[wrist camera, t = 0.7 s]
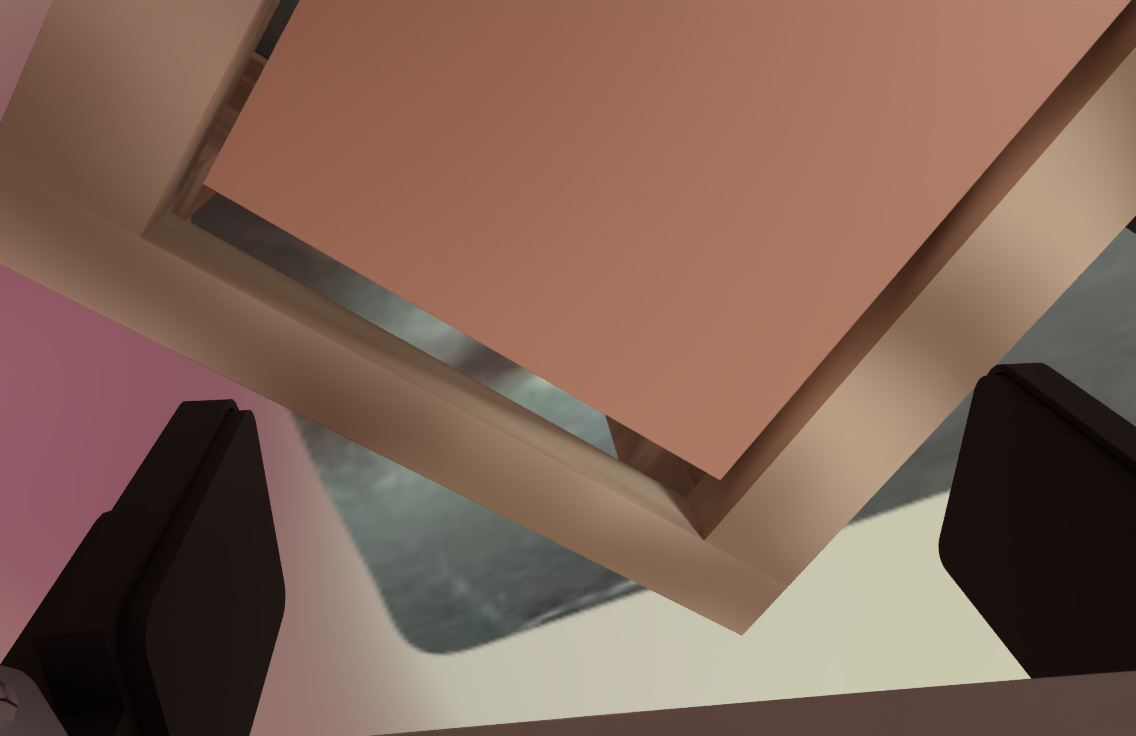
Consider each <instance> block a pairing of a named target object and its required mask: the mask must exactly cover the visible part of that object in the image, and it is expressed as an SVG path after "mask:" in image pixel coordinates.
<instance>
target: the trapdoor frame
mask: <svg viewBox="0 0 1136 736" xmlns="http://www.w3.org/2000/svg"><path fill="white" fill-rule="evenodd" d="M280 1H281V0H53V2H52V4H51V7H50V9H49V11H48V14H47V16H46V18H45V21H44V23H43V26H42V28H41V30H40V32H39V35H38V37H37V40H36V42H35V44H34V46H33V49H32V51H31V53H30V55H29V58H28V60H27V63H26V65H25V67H24V70H23V72H22V74H21V76H20V79H19V81H18V83H17V86H16V88H15V90H14V93H13V95H12V97H11V100H10V102H9V104H8V107H7V109H6V111H5V114H4V116H3V118H2V121H1V123H0V264H1V265H2V266H4V267H6V268H8V269H10V270H12V271H14V272H16V273H18V274H20V275H23V276H24V277H26V278H28V279H30V280H32V281H34V282H36V283H38V284H40V285H43V286H44V287H46V288H48V289H50V290H52V291H54V292H56V293H58V294H60V295H62V296H64V297H66V298H68V299H70V300H72V301H75V302H76V303H78V304H80V305H82V306H84V307H86V308H88V309H90V310H92V311H94V312H96V313H98V314H100V315H102V316H104V317H106V318H108V319H110V320H112V321H114V322H116V323H118V324H120V325H122V326H124V327H126V328H128V329H130V330H132V331H134V332H136V333H138V334H140V335H142V336H144V337H146V338H148V339H150V340H152V341H154V342H156V343H159V344H160V345H162V346H164V347H166V348H168V349H170V350H172V351H174V352H176V353H178V354H180V355H182V356H184V357H186V358H188V359H190V360H192V361H194V362H196V363H198V364H200V365H202V366H204V367H206V368H208V369H210V370H212V371H214V372H216V373H218V374H220V375H222V376H224V377H226V378H228V379H230V380H232V381H234V382H236V383H238V384H240V385H242V386H244V387H246V388H248V389H250V390H252V391H254V392H256V393H258V394H260V395H262V396H264V397H266V398H268V399H270V400H272V401H274V402H276V403H278V404H280V405H282V406H284V407H286V408H288V409H290V410H292V411H294V412H296V413H298V414H300V415H302V416H304V417H306V418H308V419H310V420H312V421H314V422H316V423H318V424H320V425H322V426H324V427H326V428H328V429H330V430H332V431H334V432H336V433H338V434H340V435H342V436H344V437H346V438H348V439H350V440H352V441H354V442H356V443H358V444H360V445H362V446H364V447H366V448H368V449H370V450H372V451H374V452H376V453H378V454H380V455H382V456H384V457H386V458H388V459H390V460H392V461H394V462H396V463H398V464H400V465H402V466H404V467H406V468H408V469H410V470H412V471H414V472H416V473H418V474H420V475H422V476H424V477H426V478H428V479H430V480H432V481H434V482H436V483H438V484H440V485H442V486H444V487H446V488H448V489H450V490H452V491H454V492H456V493H458V494H460V495H462V496H464V497H466V498H468V499H470V500H472V501H474V502H476V503H478V504H480V505H482V506H484V507H486V508H488V509H490V510H492V511H494V512H496V513H498V514H500V515H502V516H504V517H506V518H508V519H510V520H512V521H514V522H516V523H518V524H520V525H522V526H524V527H526V528H528V529H530V530H532V531H534V532H536V533H538V534H540V535H542V536H544V537H546V538H548V539H550V540H552V541H554V542H556V543H558V544H560V545H562V546H564V547H566V548H568V549H570V550H572V551H574V552H576V553H578V554H580V555H582V556H584V557H586V558H588V559H590V560H592V561H594V562H596V563H598V564H600V565H602V566H604V567H606V568H608V569H610V570H612V571H614V572H616V573H618V574H620V575H622V576H624V577H626V578H628V579H630V580H632V581H634V582H636V583H638V584H640V585H642V586H644V587H646V588H648V589H650V590H652V591H654V592H656V593H658V594H660V595H662V596H664V597H666V598H668V599H670V600H672V601H674V602H676V603H678V604H680V605H682V606H684V607H686V608H688V609H690V610H692V611H694V612H696V613H698V614H700V615H702V616H704V617H706V618H708V619H710V620H712V621H714V622H716V623H718V624H720V625H722V626H724V627H726V628H728V629H730V630H732V631H734V632H736V633H738V634H740V635H743V634H744V633H745V632H746V631H747V630H748V629H749V627H751V625H752V624H753V623H754V622H755V621H756V620H757V619H758V618H759V617H760V616H761V615H762V614H763V613H764V612H765V610H766V609H767V608H768V607H769V606H770V605H771V604H772V603H773V602H774V601H775V600H776V599H777V598H778V597H779V595H781V593H782V592H783V591H784V590H785V589H786V588H787V587H788V586H789V585H790V584H791V583H792V582H793V581H794V580H795V579H796V577H797V576H798V575H799V574H800V573H801V572H802V571H803V570H804V569H805V568H806V567H807V566H808V565H809V563H810V562H811V561H812V560H813V559H814V558H815V557H816V556H817V555H818V554H819V553H820V552H821V551H822V550H823V549H824V548H825V547H826V545H827V544H828V543H829V542H830V541H831V540H832V539H833V538H834V537H835V536H836V535H837V534H838V533H839V532H840V531H841V529H842V528H843V527H844V526H845V525H846V524H847V523H848V522H849V521H850V520H851V519H852V518H853V517H854V516H855V515H856V513H857V512H858V511H859V510H860V509H861V508H862V507H863V506H864V505H865V504H866V503H867V502H868V501H869V500H870V499H871V497H872V496H873V495H874V494H875V493H876V492H877V491H878V490H879V489H880V488H881V487H882V486H883V485H884V484H885V483H886V481H887V480H888V479H889V478H890V477H891V476H892V475H893V474H894V473H895V472H896V471H897V470H898V469H899V468H900V467H901V465H902V464H903V463H904V462H905V461H906V460H907V459H908V458H909V457H910V456H911V455H912V454H913V453H914V452H915V451H916V449H917V448H918V447H919V446H920V445H921V444H922V443H923V442H924V441H925V440H926V439H927V438H928V437H929V436H930V435H931V433H932V432H933V431H934V430H935V429H936V428H937V427H938V426H939V425H940V424H941V423H942V422H943V421H944V420H945V419H946V417H947V416H948V415H949V414H950V413H951V412H952V411H953V410H954V409H955V408H956V407H957V406H958V405H959V404H960V403H961V401H962V400H963V399H964V398H965V397H966V396H967V395H968V394H969V393H970V392H971V391H972V390H973V389H974V388H975V386H976V383H977V382H978V380H979V379H980V378H981V377H983V376H986V375H987V374H988V372H989V371H990V370H991V368H993V367H994V366H995V365H996V364H997V363H998V362H999V361H1000V360H1001V359H1002V358H1003V357H1004V356H1005V355H1006V353H1007V352H1008V351H1009V350H1010V349H1011V348H1012V347H1013V346H1014V345H1015V344H1016V343H1017V342H1018V341H1019V340H1020V339H1021V337H1022V336H1023V335H1024V334H1025V333H1026V332H1027V331H1028V330H1029V329H1030V328H1031V327H1032V326H1033V325H1034V324H1035V323H1036V321H1037V320H1038V319H1039V318H1040V317H1041V316H1042V315H1043V314H1044V313H1045V312H1046V311H1047V310H1048V309H1049V308H1050V307H1051V305H1052V304H1053V303H1054V302H1055V301H1056V300H1057V299H1058V298H1059V297H1060V296H1061V295H1062V294H1063V293H1064V292H1065V291H1066V289H1067V288H1068V287H1069V286H1070V285H1071V284H1072V283H1073V282H1074V281H1075V280H1076V279H1077V278H1078V277H1079V276H1080V275H1081V273H1082V272H1083V271H1084V270H1085V269H1086V268H1087V267H1088V266H1089V265H1090V264H1091V263H1092V262H1093V261H1094V260H1095V259H1096V257H1097V256H1098V255H1099V254H1100V253H1101V252H1102V251H1103V250H1104V249H1105V248H1106V247H1107V246H1108V245H1109V244H1110V243H1111V241H1112V240H1113V239H1114V238H1115V237H1116V236H1117V235H1118V234H1119V233H1120V232H1121V231H1122V230H1123V229H1124V228H1125V227H1126V225H1127V224H1128V223H1129V222H1130V221H1131V220H1132V219H1133V218H1134V217H1135V216H1136V0H1131V1H1130V2H1129V3H1128V4H1127V6H1126V7H1125V8H1124V9H1123V10H1122V11H1121V13H1120V14H1119V15H1118V16H1117V17H1116V18H1115V20H1114V21H1113V22H1112V23H1111V24H1110V26H1109V27H1108V28H1107V29H1106V30H1105V31H1104V33H1103V34H1102V35H1101V36H1100V37H1099V38H1098V40H1097V41H1096V42H1095V43H1094V44H1093V45H1092V47H1091V48H1090V49H1089V50H1088V51H1087V52H1086V54H1085V55H1084V56H1083V57H1082V58H1081V59H1080V61H1079V62H1078V63H1077V64H1076V65H1075V66H1074V68H1073V69H1072V70H1071V71H1070V72H1069V73H1068V75H1067V76H1066V77H1065V78H1064V79H1063V80H1062V82H1061V83H1060V84H1059V85H1058V86H1057V87H1056V89H1055V90H1054V91H1053V92H1052V93H1051V94H1050V96H1049V97H1048V98H1047V99H1046V100H1045V101H1044V103H1043V104H1042V105H1041V106H1040V107H1039V108H1038V110H1037V111H1036V112H1035V113H1034V114H1033V115H1032V117H1031V118H1030V119H1029V120H1028V121H1027V122H1026V124H1025V125H1024V126H1023V127H1022V128H1021V129H1020V131H1019V132H1018V133H1017V134H1016V135H1015V136H1014V138H1013V139H1012V140H1011V141H1010V142H1009V143H1008V145H1007V146H1006V147H1005V148H1004V149H1003V151H1002V152H1001V153H1000V154H999V155H998V156H997V158H996V159H995V160H994V161H993V162H992V163H991V165H990V166H989V167H988V168H987V169H986V170H985V172H984V173H983V174H982V175H981V176H980V177H979V179H978V180H977V181H976V182H975V183H974V184H973V186H972V187H971V188H970V189H969V190H968V191H967V193H966V194H965V195H964V196H963V197H962V198H961V200H960V201H959V202H958V203H957V204H956V205H955V207H954V208H953V209H952V210H951V211H950V212H949V214H948V215H947V216H946V217H945V218H944V219H943V221H942V222H941V223H940V224H939V225H938V226H937V228H936V229H935V230H934V231H933V232H932V233H931V235H930V236H929V237H928V238H927V239H926V240H925V242H924V243H923V244H922V245H921V246H920V247H919V249H918V250H917V251H916V252H915V253H914V254H913V256H912V257H911V258H910V259H909V260H908V261H907V263H906V264H905V265H904V266H903V267H902V268H901V270H900V271H899V272H898V273H897V274H896V276H895V277H894V278H893V279H892V280H891V281H890V283H889V284H888V285H887V286H886V287H885V288H884V290H883V291H882V292H881V293H880V294H879V295H878V297H877V298H876V299H875V300H874V301H873V302H872V304H871V305H870V306H869V307H868V308H867V309H866V311H865V312H864V313H863V314H862V315H861V316H860V318H859V319H858V320H857V321H856V322H855V323H854V325H853V326H852V327H851V328H850V329H849V330H848V332H847V333H846V334H845V335H844V336H843V337H842V339H841V340H840V341H839V342H838V343H837V344H836V346H835V347H834V348H833V349H832V350H831V351H830V353H829V354H828V355H827V356H826V357H825V358H824V360H823V361H822V362H821V363H820V364H819V365H818V367H817V368H816V369H815V370H814V371H813V372H812V374H811V375H810V376H809V377H808V378H807V379H806V381H805V382H804V383H803V384H802V385H801V386H800V388H799V389H798V390H797V391H796V392H795V393H794V395H793V396H792V397H791V398H790V399H789V401H788V402H787V403H786V404H785V405H784V406H783V408H782V409H781V410H780V411H779V412H778V413H777V415H776V416H775V417H774V418H773V419H772V420H771V422H770V423H769V424H768V425H767V426H766V427H765V429H764V430H763V431H762V432H761V433H760V434H759V436H758V437H757V438H756V439H755V440H754V441H753V443H752V444H751V445H750V446H749V447H748V448H747V450H746V451H745V452H744V453H743V454H742V455H741V457H740V458H739V459H738V460H737V461H736V462H735V464H734V465H733V466H732V467H731V468H730V469H729V471H728V472H727V473H726V474H725V475H724V476H723V478H722V479H721V480H719V479H717V478H715V477H714V476H712V475H710V474H708V473H707V472H705V471H703V470H701V469H700V468H698V467H696V466H694V465H693V464H691V463H689V462H687V461H686V460H684V459H682V458H680V457H679V456H677V455H675V454H673V453H672V452H670V451H668V450H666V449H665V448H663V447H661V446H659V445H658V444H656V443H654V442H652V441H651V440H649V439H647V438H646V437H644V436H642V435H640V434H639V433H637V432H635V431H633V430H632V429H630V428H628V427H626V426H625V425H623V424H621V423H619V422H618V421H616V420H614V419H612V418H611V417H609V416H607V415H605V416H606V419H607V422H608V426H609V429H610V432H611V435H612V439H613V442H614V445H615V449H616V452H617V455H618V459H619V460H618V459H616V458H614V457H613V456H611V455H609V454H607V453H605V452H604V451H602V450H600V449H598V448H596V447H594V446H593V445H591V444H589V443H587V442H585V441H584V440H582V439H580V438H578V437H576V436H575V435H573V434H571V433H569V432H567V431H566V430H564V429H562V428H560V427H558V426H557V425H555V424H553V423H551V422H549V421H548V420H546V419H544V418H542V417H540V416H539V415H537V414H535V413H533V412H531V411H530V410H528V409H526V408H524V407H522V406H521V405H519V404H517V403H515V402H513V401H512V400H510V399H508V398H506V397H504V396H503V395H501V394H499V393H497V392H495V391H494V390H492V389H490V388H488V387H486V386H485V385H483V384H481V383H479V382H477V381H476V380H474V379H472V378H470V377H468V376H467V375H465V374H463V373H461V372H459V371H458V370H456V369H454V368H452V367H450V366H449V365H447V364H445V363H443V362H441V361H440V360H438V359H436V358H434V357H432V356H431V355H429V354H427V353H425V352H423V351H422V350H420V349H418V348H416V347H414V346H413V345H411V344H409V343H407V342H405V341H404V340H402V339H400V338H398V337H396V336H395V335H393V334H391V333H389V332H387V331H386V330H384V329H382V328H380V327H378V326H377V325H375V324H373V323H371V322H369V321H368V320H366V319H364V318H362V317H360V316H359V315H357V314H355V313H353V312H351V311H350V310H348V309H346V308H344V307H342V306H340V305H339V304H337V303H335V302H333V301H331V300H330V299H328V298H326V297H324V296H322V295H321V294H319V293H317V292H315V291H313V290H312V289H310V288H308V287H306V286H304V285H303V284H301V283H299V282H297V281H295V280H294V279H292V278H290V277H288V276H286V275H285V274H283V273H281V272H279V271H277V270H276V269H274V268H272V267H270V266H268V265H267V264H265V263H263V262H261V261H259V260H258V259H256V258H254V257H252V256H250V255H249V254H247V253H245V252H243V251H241V250H240V249H238V248H236V247H234V246H232V245H231V244H229V243H227V242H225V241H223V240H222V239H220V238H218V237H216V236H214V235H213V234H211V233H209V232H207V231H205V230H204V229H202V228H200V227H198V226H196V225H195V224H193V223H191V222H189V221H187V219H188V218H189V217H190V216H191V215H192V214H193V213H194V212H195V211H196V210H198V209H199V208H200V207H201V206H202V205H203V204H204V203H205V202H206V201H207V200H208V199H210V198H211V197H212V196H213V195H214V194H215V193H216V191H215V190H213V189H211V188H209V187H208V186H206V185H204V184H203V183H204V181H205V179H206V177H207V175H208V173H209V171H210V169H211V168H212V166H213V164H214V162H215V160H216V158H217V156H218V154H219V152H220V150H221V149H222V147H223V145H224V143H225V141H226V139H227V137H228V135H229V133H230V132H231V130H232V128H233V126H234V124H235V122H236V120H237V118H238V116H239V114H240V113H241V111H242V109H243V107H244V105H245V103H246V101H247V99H248V97H249V96H250V94H251V92H252V90H253V88H254V86H255V84H256V82H257V80H258V78H259V77H260V75H261V73H262V71H263V69H264V67H265V65H266V63H267V61H268V60H267V59H265V58H264V57H262V56H261V55H259V54H258V53H256V52H254V51H255V49H256V47H257V45H258V43H259V41H260V39H261V38H262V36H263V34H264V32H265V30H266V28H267V26H268V24H269V22H270V20H271V18H272V16H273V14H274V13H275V11H276V9H277V7H278V5H279V3H280Z"/></svg>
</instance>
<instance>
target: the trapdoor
mask: <svg viewBox="0 0 1136 736" xmlns="http://www.w3.org/2000/svg"><path fill="white" fill-rule="evenodd" d="M1130 1H1131V0H300V1H299V3H298V5H297V6H296V8H295V10H294V12H293V14H292V16H291V18H290V20H289V22H288V24H287V25H286V27H285V29H284V31H283V33H282V35H281V37H280V39H279V41H278V42H277V44H276V46H275V48H274V50H273V52H272V54H271V56H270V58H269V60H268V61H267V63H266V65H265V67H264V69H263V71H262V73H261V75H260V77H259V78H258V80H257V82H256V84H255V86H254V88H253V90H252V92H251V94H250V96H249V97H248V99H247V101H246V103H245V105H244V107H243V109H242V111H241V113H240V114H239V116H238V118H237V120H236V122H235V124H234V126H233V128H232V130H231V132H230V133H229V135H228V137H227V139H226V141H225V143H224V145H223V147H222V149H221V150H220V152H219V154H218V156H217V158H216V160H215V162H214V164H213V166H212V168H211V169H210V171H209V173H208V175H207V177H206V179H205V181H204V183H203V184H204V185H206V186H208V187H209V188H211V189H213V190H215V191H216V192H218V193H220V194H222V195H223V196H225V197H227V198H229V199H230V200H232V201H234V202H236V203H237V204H239V205H241V206H243V207H244V208H246V209H248V210H250V211H251V212H253V213H255V214H257V215H258V216H260V217H262V218H264V219H265V220H267V221H269V222H271V223H272V224H274V225H276V226H277V227H279V228H281V229H283V230H284V231H286V232H288V233H290V234H291V235H293V236H295V237H297V238H298V239H300V240H302V241H304V242H305V243H307V244H309V245H311V246H312V247H314V248H316V249H318V250H319V251H321V252H323V253H325V254H326V255H328V256H330V257H332V258H333V259H335V260H337V261H339V262H340V263H342V264H344V265H346V266H347V267H349V268H351V269H352V270H354V271H356V272H358V273H359V274H361V275H363V276H365V277H366V278H368V279H370V280H372V281H373V282H375V283H377V284H379V285H380V286H382V287H384V288H386V289H387V290H389V291H391V292H393V293H394V294H396V295H398V296H400V297H401V298H403V299H405V300H407V301H408V302H410V303H412V304H414V305H415V306H417V307H419V308H421V309H422V310H424V311H426V312H427V313H429V314H431V315H433V316H434V317H436V318H438V319H440V320H441V321H443V322H445V323H447V324H448V325H450V326H452V327H454V328H455V329H457V330H459V331H461V332H462V333H464V334H466V335H468V336H469V337H471V338H473V339H475V340H476V341H478V342H480V343H482V344H483V345H485V346H487V347H489V348H490V349H492V350H494V351H496V352H497V353H499V354H501V355H502V356H504V357H506V358H508V359H509V360H511V361H513V362H515V363H516V364H518V365H520V366H522V367H523V368H525V369H527V370H529V371H530V372H532V373H534V374H536V375H537V376H539V377H541V378H543V379H544V380H546V381H548V382H550V383H551V384H553V385H555V386H557V387H558V388H560V389H562V390H564V391H565V392H567V393H569V394H571V395H572V396H574V397H576V398H577V399H579V400H581V401H583V402H584V403H586V404H588V405H590V406H591V407H593V408H595V409H597V410H598V411H600V412H602V413H604V414H605V415H607V416H609V417H611V418H612V419H614V420H616V421H618V422H619V423H621V424H623V425H625V426H626V427H628V428H630V429H632V430H633V431H635V432H637V433H639V434H640V435H642V436H644V437H646V438H647V439H649V440H651V441H652V442H654V443H656V444H658V445H659V446H661V447H663V448H665V449H666V450H668V451H670V452H672V453H673V454H675V455H677V456H679V457H680V458H682V459H684V460H686V461H687V462H689V463H691V464H693V465H694V466H696V467H698V468H700V469H701V470H703V471H705V472H707V473H708V474H710V475H712V476H714V477H715V478H717V479H719V480H721V479H722V478H723V476H724V475H725V474H726V473H727V472H728V471H729V469H730V468H731V467H732V466H733V465H734V464H735V462H736V461H737V460H738V459H739V458H740V457H741V455H742V454H743V453H744V452H745V451H746V450H747V448H748V447H749V446H750V445H751V444H752V443H753V441H754V440H755V439H756V438H757V437H758V436H759V434H760V433H761V432H762V431H763V430H764V429H765V427H766V426H767V425H768V424H769V423H770V422H771V420H772V419H773V418H774V417H775V416H776V415H777V413H778V412H779V411H780V410H781V409H782V408H783V406H784V405H785V404H786V403H787V402H788V401H789V399H790V398H791V397H792V396H793V395H794V393H795V392H796V391H797V390H798V389H799V388H800V386H801V385H802V384H803V383H804V382H805V381H806V379H807V378H808V377H809V376H810V375H811V374H812V372H813V371H814V370H815V369H816V368H817V367H818V365H819V364H820V363H821V362H822V361H823V360H824V358H825V357H826V356H827V355H828V354H829V353H830V351H831V350H832V349H833V348H834V347H835V346H836V344H837V343H838V342H839V341H840V340H841V339H842V337H843V336H844V335H845V334H846V333H847V332H848V330H849V329H850V328H851V327H852V326H853V325H854V323H855V322H856V321H857V320H858V319H859V318H860V316H861V315H862V314H863V313H864V312H865V311H866V309H867V308H868V307H869V306H870V305H871V304H872V302H873V301H874V300H875V299H876V298H877V297H878V295H879V294H880V293H881V292H882V291H883V290H884V288H885V287H886V286H887V285H888V284H889V283H890V281H891V280H892V279H893V278H894V277H895V276H896V274H897V273H898V272H899V271H900V270H901V268H902V267H903V266H904V265H905V264H906V263H907V261H908V260H909V259H910V258H911V257H912V256H913V254H914V253H915V252H916V251H917V250H918V249H919V247H920V246H921V245H922V244H923V243H924V242H925V240H926V239H927V238H928V237H929V236H930V235H931V233H932V232H933V231H934V230H935V229H936V228H937V226H938V225H939V224H940V223H941V222H942V221H943V219H944V218H945V217H946V216H947V215H948V214H949V212H950V211H951V210H952V209H953V208H954V207H955V205H956V204H957V203H958V202H959V201H960V200H961V198H962V197H963V196H964V195H965V194H966V193H967V191H968V190H969V189H970V188H971V187H972V186H973V184H974V183H975V182H976V181H977V180H978V179H979V177H980V176H981V175H982V174H983V173H984V172H985V170H986V169H987V168H988V167H989V166H990V165H991V163H992V162H993V161H994V160H995V159H996V158H997V156H998V155H999V154H1000V153H1001V152H1002V151H1003V149H1004V148H1005V147H1006V146H1007V145H1008V143H1009V142H1010V141H1011V140H1012V139H1013V138H1014V136H1015V135H1016V134H1017V133H1018V132H1019V131H1020V129H1021V128H1022V127H1023V126H1024V125H1025V124H1026V122H1027V121H1028V120H1029V119H1030V118H1031V117H1032V115H1033V114H1034V113H1035V112H1036V111H1037V110H1038V108H1039V107H1040V106H1041V105H1042V104H1043V103H1044V101H1045V100H1046V99H1047V98H1048V97H1049V96H1050V94H1051V93H1052V92H1053V91H1054V90H1055V89H1056V87H1057V86H1058V85H1059V84H1060V83H1061V82H1062V80H1063V79H1064V78H1065V77H1066V76H1067V75H1068V73H1069V72H1070V71H1071V70H1072V69H1073V68H1074V66H1075V65H1076V64H1077V63H1078V62H1079V61H1080V59H1081V58H1082V57H1083V56H1084V55H1085V54H1086V52H1087V51H1088V50H1089V49H1090V48H1091V47H1092V45H1093V44H1094V43H1095V42H1096V41H1097V40H1098V38H1099V37H1100V36H1101V35H1102V34H1103V33H1104V31H1105V30H1106V29H1107V28H1108V27H1109V26H1110V24H1111V23H1112V22H1113V21H1114V20H1115V18H1116V17H1117V16H1118V15H1119V14H1120V13H1121V11H1122V10H1123V9H1124V8H1125V7H1126V6H1127V4H1128V3H1129V2H1130Z"/></svg>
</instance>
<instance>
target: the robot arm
mask: <svg viewBox="0 0 1136 736" xmlns="http://www.w3.org/2000/svg"><path fill="white" fill-rule="evenodd" d="M939 555H940V559H941V562H942V564H943V566H944V568H945V569H946V571H947V572H948V573H949V575H950V576H951V577H952V578H953V580H954V581H955V582H956V584H957V585H958V586H959V587H960V588H961V590H962V591H963V592H964V594H965V595H966V596H967V597H968V599H969V600H970V601H971V603H972V604H973V605H974V606H975V607H976V609H977V610H978V611H979V613H980V614H981V615H982V616H983V618H984V619H985V620H986V622H987V623H988V624H989V625H990V627H991V628H992V629H993V630H994V632H995V633H996V634H997V636H998V637H999V638H1000V639H1001V641H1002V642H1003V643H1004V644H1005V646H1006V647H1007V648H1008V650H1009V651H1010V652H1011V653H1012V655H1013V656H1014V657H1015V658H1016V660H1017V661H1018V662H1019V664H1020V665H1021V666H1022V667H1023V669H1024V670H1025V671H1026V672H1027V674H1028V675H1029V676H1030V677H1031V679H1022V680H1009V681H998V682H985V683H972V684H960V685H948V686H936V687H924V688H912V689H899V690H887V691H875V692H863V693H851V694H839V695H828V696H817V697H804V698H793V699H781V700H770V701H758V702H746V703H735V704H723V705H712V706H700V707H688V708H677V709H665V710H654V711H641V712H630V713H619V714H607V715H595V716H584V717H574V718H563V719H553V720H541V721H529V722H518V723H507V724H496V725H485V726H473V727H462V728H451V729H440V730H430V731H429V730H428V731H417V732H406V733H395V734H384V735H372V736H1136V426H1134V425H1133V424H1131V423H1130V422H1128V421H1127V420H1125V419H1124V418H1123V417H1121V416H1120V415H1118V414H1117V413H1115V412H1114V411H1112V410H1111V409H1110V408H1108V407H1107V406H1105V405H1104V404H1102V403H1101V402H1100V401H1098V400H1097V399H1095V398H1094V397H1092V396H1091V395H1089V394H1088V393H1087V392H1085V391H1084V390H1082V389H1081V388H1079V387H1078V386H1076V385H1075V384H1074V383H1072V382H1071V381H1069V380H1068V379H1066V378H1065V377H1064V376H1062V375H1061V374H1059V373H1058V372H1056V371H1055V370H1053V369H1052V368H1051V367H1049V366H1048V365H1045V364H1043V363H1022V364H1001V365H996V366H994V367H993V368H991V370H990V371H989V372H988V374H987V376H983V377H981V378H980V379H979V380H978V382H977V383H976V386H975V389H974V393H973V398H972V402H971V406H970V410H969V415H968V419H967V423H966V427H965V432H964V436H963V440H962V444H961V449H960V453H959V457H958V461H957V466H956V470H955V474H954V478H953V483H952V487H951V491H950V495H949V500H948V504H947V508H946V512H945V517H944V521H943V525H942V529H941V534H940V538H939ZM284 608H285V584H284V578H283V573H282V567H281V562H280V556H279V550H278V545H277V539H276V533H275V527H274V522H273V516H272V511H271V505H270V499H269V494H268V488H267V483H266V477H265V471H264V466H263V461H262V454H261V449H260V443H259V438H258V432H257V427H256V421H255V417H254V415H253V413H252V411H251V410H240V411H239V409H238V407H237V405H236V402H235V401H234V400H232V399H228V400H206V401H184V402H183V403H181V404H180V406H179V407H178V409H177V410H176V412H175V414H174V415H173V416H172V418H171V419H170V421H169V422H168V424H167V426H166V427H165V429H164V430H163V432H162V433H161V435H160V437H159V438H158V439H157V441H156V442H155V444H154V446H153V447H152V449H151V450H150V452H149V453H148V455H147V456H146V458H145V460H144V461H143V463H142V464H141V466H140V467H139V469H138V470H137V472H136V473H135V475H134V477H133V478H132V480H131V481H130V482H129V484H128V486H127V487H126V489H125V490H124V492H123V493H122V495H121V496H120V498H119V500H118V501H117V503H116V504H115V506H114V507H113V509H112V510H111V511H108V512H105V513H103V514H102V515H101V516H100V517H99V518H98V519H97V520H96V521H95V523H94V524H93V526H92V527H91V529H90V531H89V532H88V533H87V535H86V536H85V538H84V539H83V541H82V543H81V544H80V545H79V547H78V548H77V550H76V551H75V553H74V555H73V556H72V557H71V559H70V560H69V562H68V564H67V565H66V566H65V568H64V569H63V571H62V572H61V574H60V575H59V577H58V578H57V580H56V582H55V583H54V585H53V586H52V588H51V589H50V591H49V592H48V594H47V595H46V597H45V598H44V600H43V601H42V603H41V604H40V606H39V607H38V609H37V610H36V612H35V613H34V615H33V616H32V618H31V619H30V621H29V622H28V624H27V625H26V627H25V628H24V630H23V631H22V633H21V634H20V636H19V637H18V639H17V640H16V642H15V643H14V645H13V646H12V648H11V649H10V651H9V652H8V654H7V655H6V657H5V658H4V660H3V661H2V663H1V664H0V736H249V735H250V732H251V728H252V725H253V721H254V717H255V714H256V711H257V707H258V703H259V699H260V696H261V693H262V689H263V686H264V682H265V679H266V675H267V671H268V668H269V664H270V661H271V657H272V653H273V650H274V647H275V643H276V639H277V636H278V632H279V629H280V625H281V622H282V618H283V614H284Z"/></svg>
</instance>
